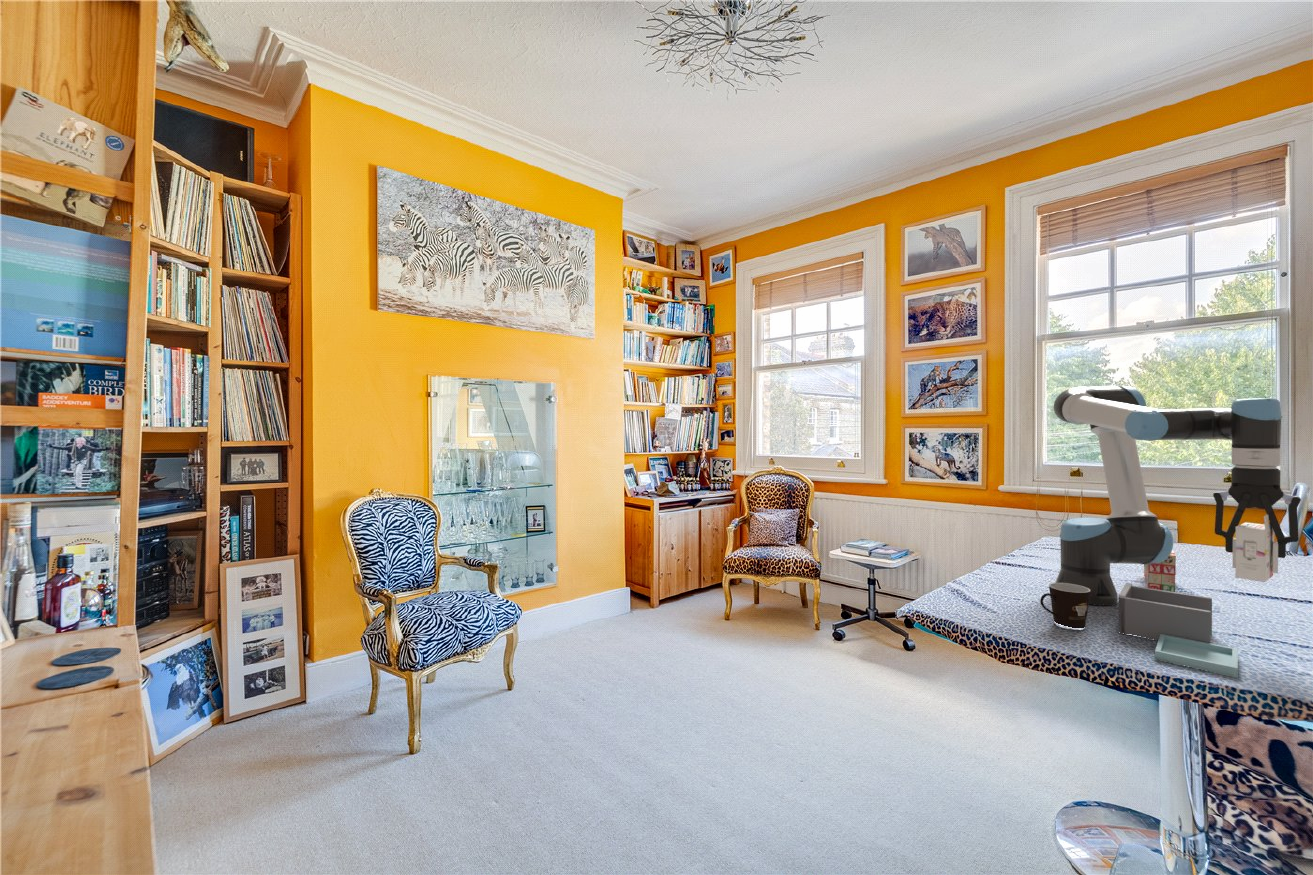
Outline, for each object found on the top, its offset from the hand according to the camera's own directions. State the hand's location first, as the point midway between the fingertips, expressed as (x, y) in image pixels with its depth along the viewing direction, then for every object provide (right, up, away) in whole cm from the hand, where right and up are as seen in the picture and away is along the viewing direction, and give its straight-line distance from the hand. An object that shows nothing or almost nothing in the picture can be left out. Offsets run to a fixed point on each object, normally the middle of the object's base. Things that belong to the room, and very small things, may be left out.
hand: (1254, 569), depth 126 cm
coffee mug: (-30, -19, +18) cm, 40 cm away
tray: (-16, -19, -3) cm, 25 cm away
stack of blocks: (+24, -17, +50) cm, 58 cm away
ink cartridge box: (0, -2, 0) cm, 2 cm away
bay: (-10, -19, +11) cm, 24 cm away
